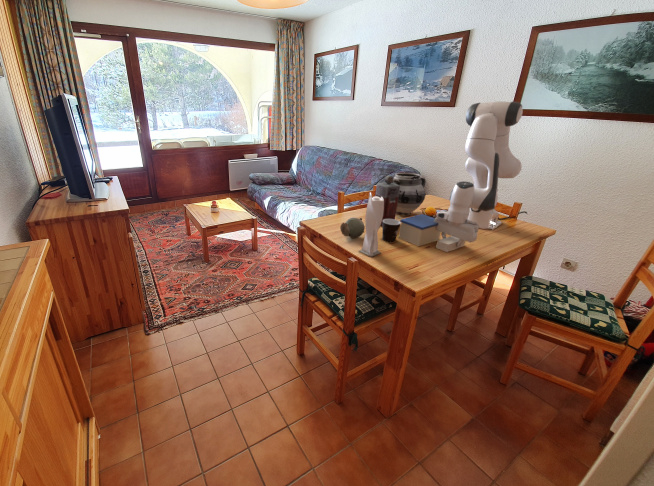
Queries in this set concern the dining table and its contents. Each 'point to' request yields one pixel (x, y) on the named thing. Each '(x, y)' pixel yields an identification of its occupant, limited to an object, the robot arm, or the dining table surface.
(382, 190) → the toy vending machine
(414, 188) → the ceramic pot
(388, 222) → the coffee mug
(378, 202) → the skyscraper
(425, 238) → the container
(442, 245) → the case
